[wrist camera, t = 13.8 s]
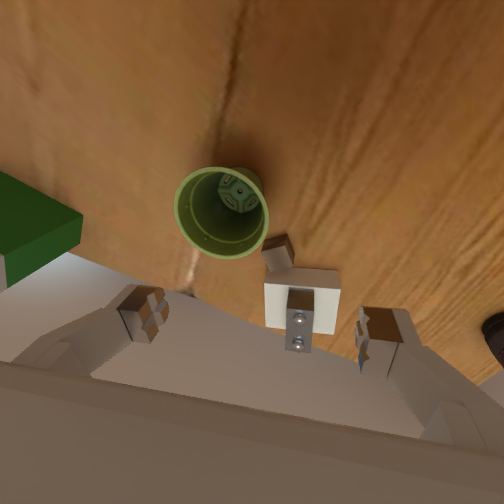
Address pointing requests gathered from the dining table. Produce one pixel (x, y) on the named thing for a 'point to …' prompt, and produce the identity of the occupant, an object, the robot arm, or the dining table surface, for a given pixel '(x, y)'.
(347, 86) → the dining table surface
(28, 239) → the hardback book
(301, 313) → the block
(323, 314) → the stand
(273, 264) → the walnut block
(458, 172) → the dining table surface
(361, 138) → the dining table surface
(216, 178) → the plant pot
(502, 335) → the camera lens
